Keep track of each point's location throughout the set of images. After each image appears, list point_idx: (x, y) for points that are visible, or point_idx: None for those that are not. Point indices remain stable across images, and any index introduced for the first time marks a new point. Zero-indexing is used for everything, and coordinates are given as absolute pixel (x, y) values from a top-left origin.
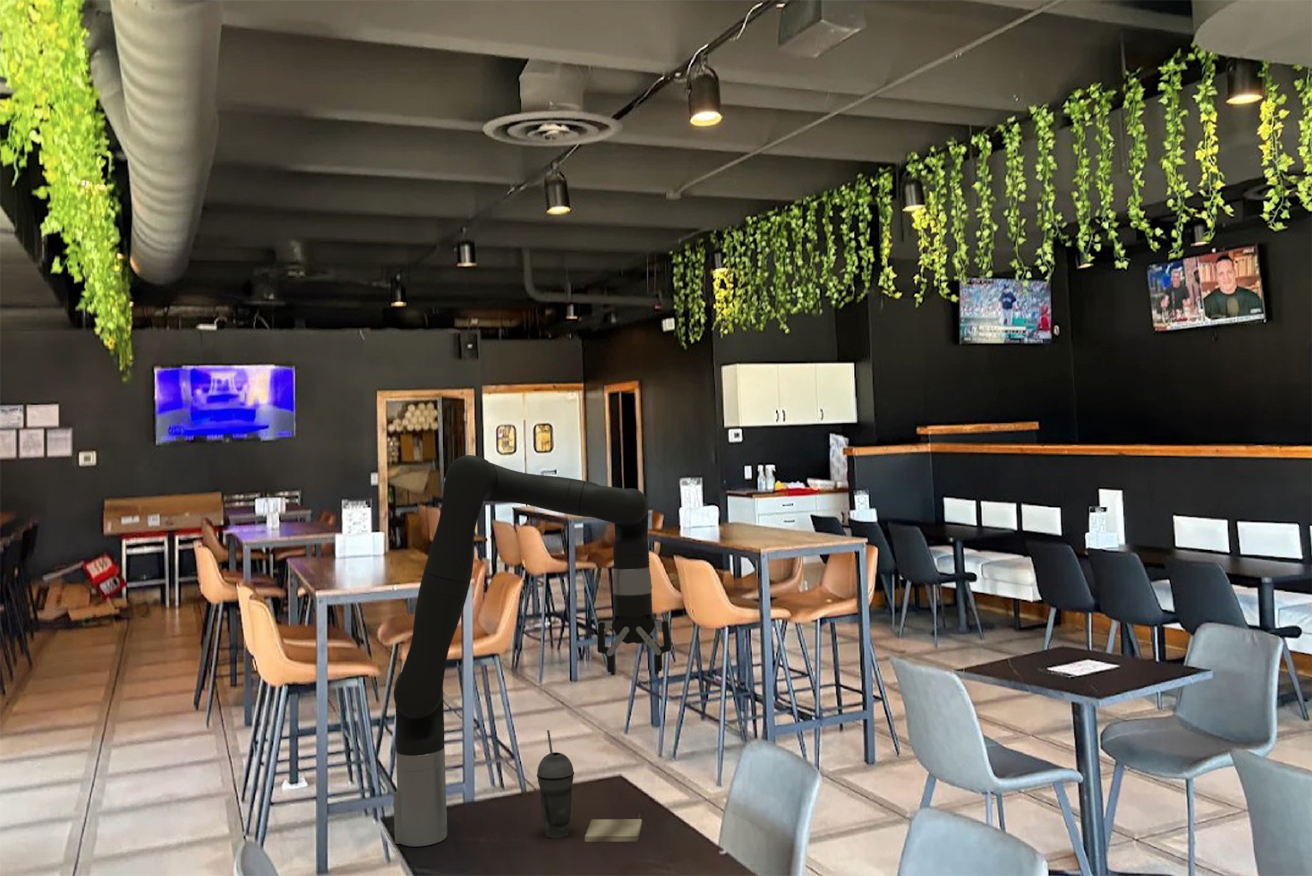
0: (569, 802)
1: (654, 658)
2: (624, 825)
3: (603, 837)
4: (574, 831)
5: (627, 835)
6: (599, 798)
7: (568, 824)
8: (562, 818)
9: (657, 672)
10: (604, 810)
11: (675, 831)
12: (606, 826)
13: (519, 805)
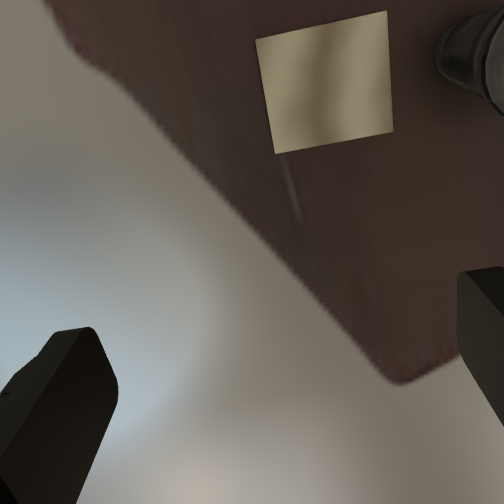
0: (461, 49)
1: (7, 438)
2: (304, 106)
3: (338, 21)
4: (423, 79)
5: (280, 39)
6: (404, 283)
7: (442, 48)
8: (464, 24)
9: (56, 334)
10: (379, 219)
11: (189, 123)
12: (346, 91)
13: None
